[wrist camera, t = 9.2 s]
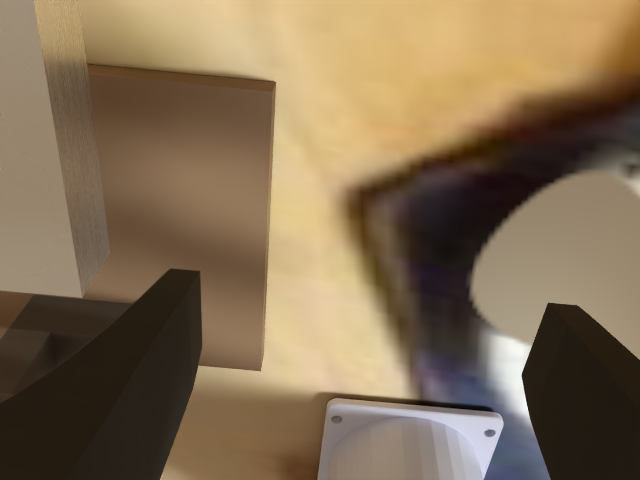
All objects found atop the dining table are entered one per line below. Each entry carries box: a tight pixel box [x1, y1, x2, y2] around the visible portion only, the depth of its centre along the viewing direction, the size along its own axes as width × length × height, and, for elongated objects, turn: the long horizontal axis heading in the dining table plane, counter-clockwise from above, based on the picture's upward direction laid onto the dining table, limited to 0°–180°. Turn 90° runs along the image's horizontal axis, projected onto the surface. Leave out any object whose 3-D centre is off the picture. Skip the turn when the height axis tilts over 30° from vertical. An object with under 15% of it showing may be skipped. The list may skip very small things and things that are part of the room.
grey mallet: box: [0, 0, 111, 298], centre depth 14 cm, size 14×4×5 cm, turn 175°
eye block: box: [0, 64, 276, 403], centre depth 19 cm, size 12×12×7 cm
